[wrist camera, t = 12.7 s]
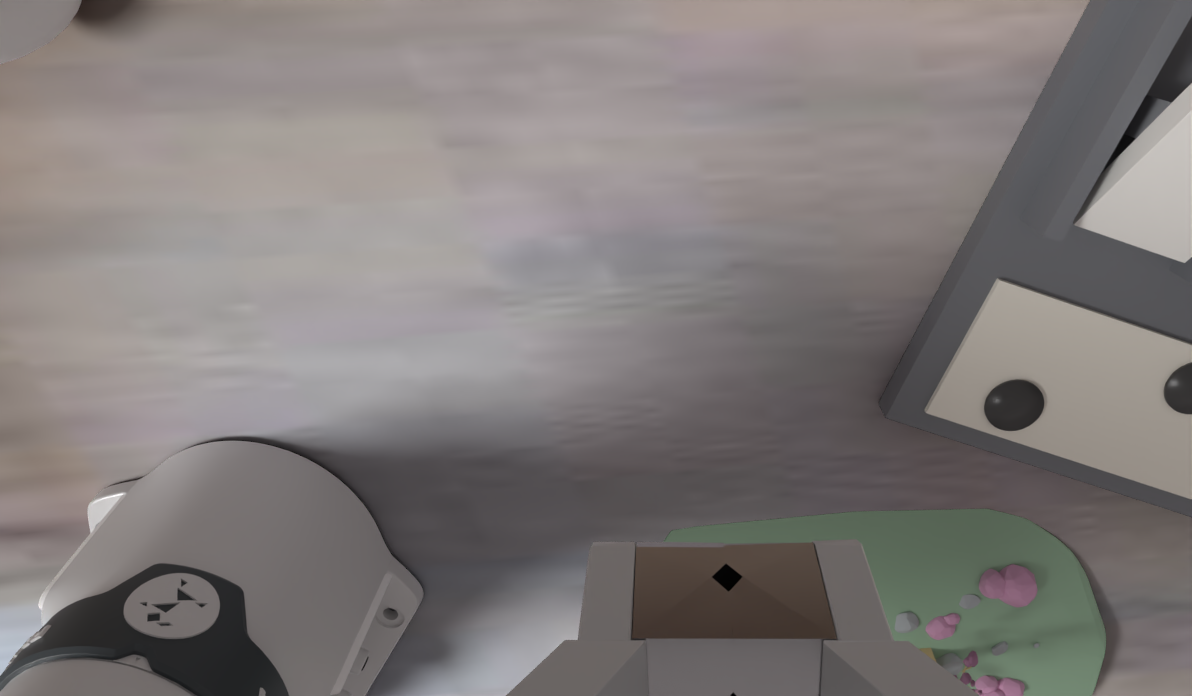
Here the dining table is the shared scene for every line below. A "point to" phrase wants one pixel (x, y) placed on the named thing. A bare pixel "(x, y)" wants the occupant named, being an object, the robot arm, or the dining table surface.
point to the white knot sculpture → (32, 24)
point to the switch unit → (1069, 286)
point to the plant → (964, 592)
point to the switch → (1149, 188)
